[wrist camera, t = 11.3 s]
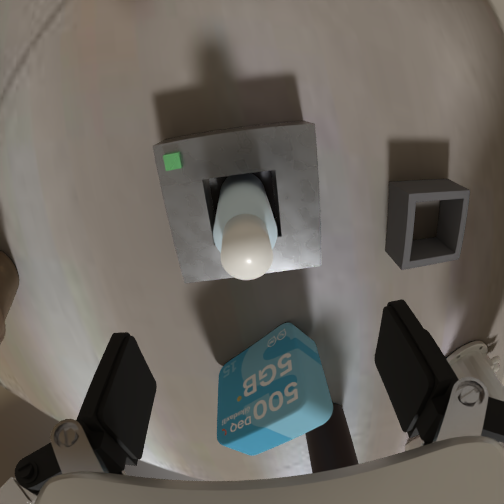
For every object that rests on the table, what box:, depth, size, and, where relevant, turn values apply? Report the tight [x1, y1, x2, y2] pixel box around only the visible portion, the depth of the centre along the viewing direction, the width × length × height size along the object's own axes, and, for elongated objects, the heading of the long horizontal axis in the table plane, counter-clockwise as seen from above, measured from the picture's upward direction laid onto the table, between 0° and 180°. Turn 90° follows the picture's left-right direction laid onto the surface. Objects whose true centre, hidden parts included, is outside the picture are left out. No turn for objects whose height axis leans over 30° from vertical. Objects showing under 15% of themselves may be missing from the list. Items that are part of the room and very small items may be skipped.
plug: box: [213, 173, 277, 280], centre depth 22 cm, size 4×4×12 cm
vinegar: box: [306, 404, 358, 473], centre depth 35 cm, size 7×7×20 cm
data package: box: [217, 323, 333, 455], centre depth 31 cm, size 12×4×12 cm, turn 134°
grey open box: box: [385, 179, 470, 270], centre depth 27 cm, size 8×8×4 cm
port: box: [153, 121, 321, 283], centre depth 25 cm, size 12×12×5 cm
